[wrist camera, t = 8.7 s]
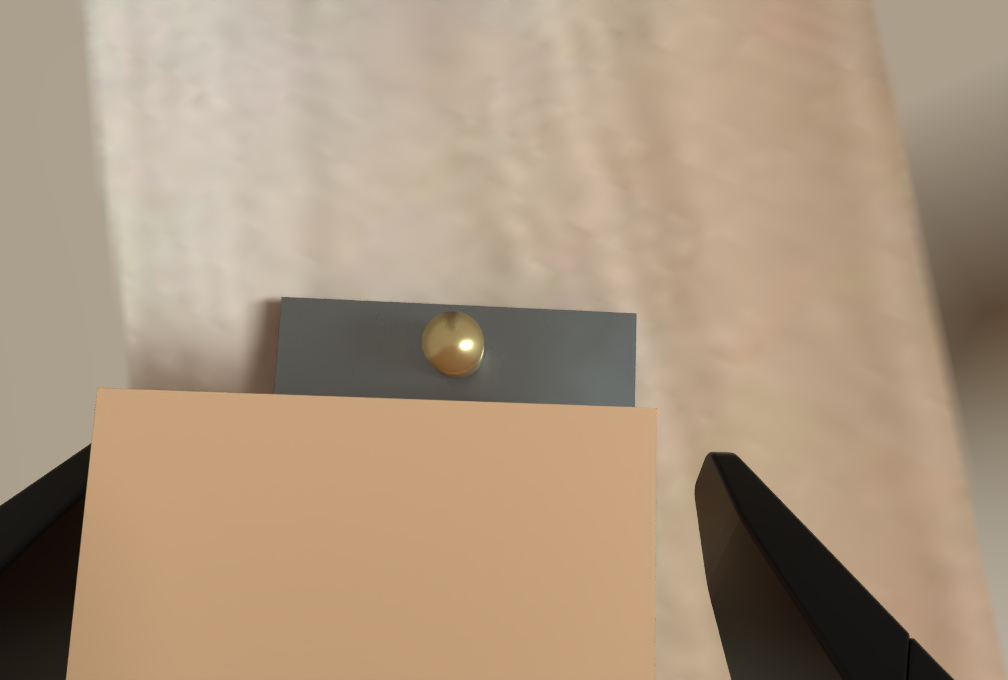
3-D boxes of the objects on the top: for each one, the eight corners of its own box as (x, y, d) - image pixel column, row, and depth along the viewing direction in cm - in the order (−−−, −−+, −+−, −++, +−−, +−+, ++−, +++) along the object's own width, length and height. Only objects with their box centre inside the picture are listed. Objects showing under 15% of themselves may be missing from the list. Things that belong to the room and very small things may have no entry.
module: (528, 570, 18) (651, 1022, 5) (367, 565, 17) (28, 1017, 4) (533, 409, 18) (656, 407, 5) (376, 403, 18) (96, 387, 5)
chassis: (621, 669, 18) (659, 741, 14) (263, 658, 18) (200, 728, 14) (628, 318, 19) (665, 295, 15) (292, 302, 19) (242, 275, 15)
